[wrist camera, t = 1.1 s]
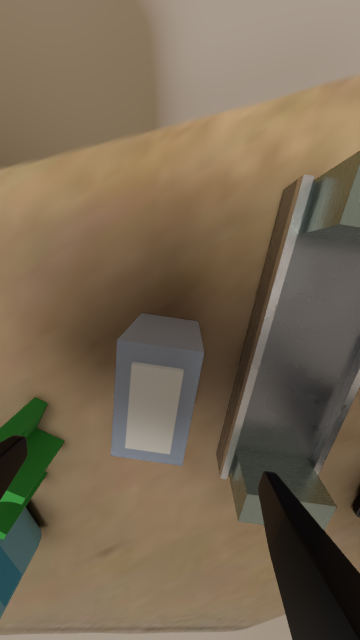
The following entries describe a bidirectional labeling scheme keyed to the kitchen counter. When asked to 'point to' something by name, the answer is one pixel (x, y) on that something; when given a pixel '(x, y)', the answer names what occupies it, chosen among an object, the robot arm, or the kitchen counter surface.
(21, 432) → the pipe clamp
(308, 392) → the rail
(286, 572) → the robot arm
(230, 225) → the kitchen counter surface
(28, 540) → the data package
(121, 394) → the block
